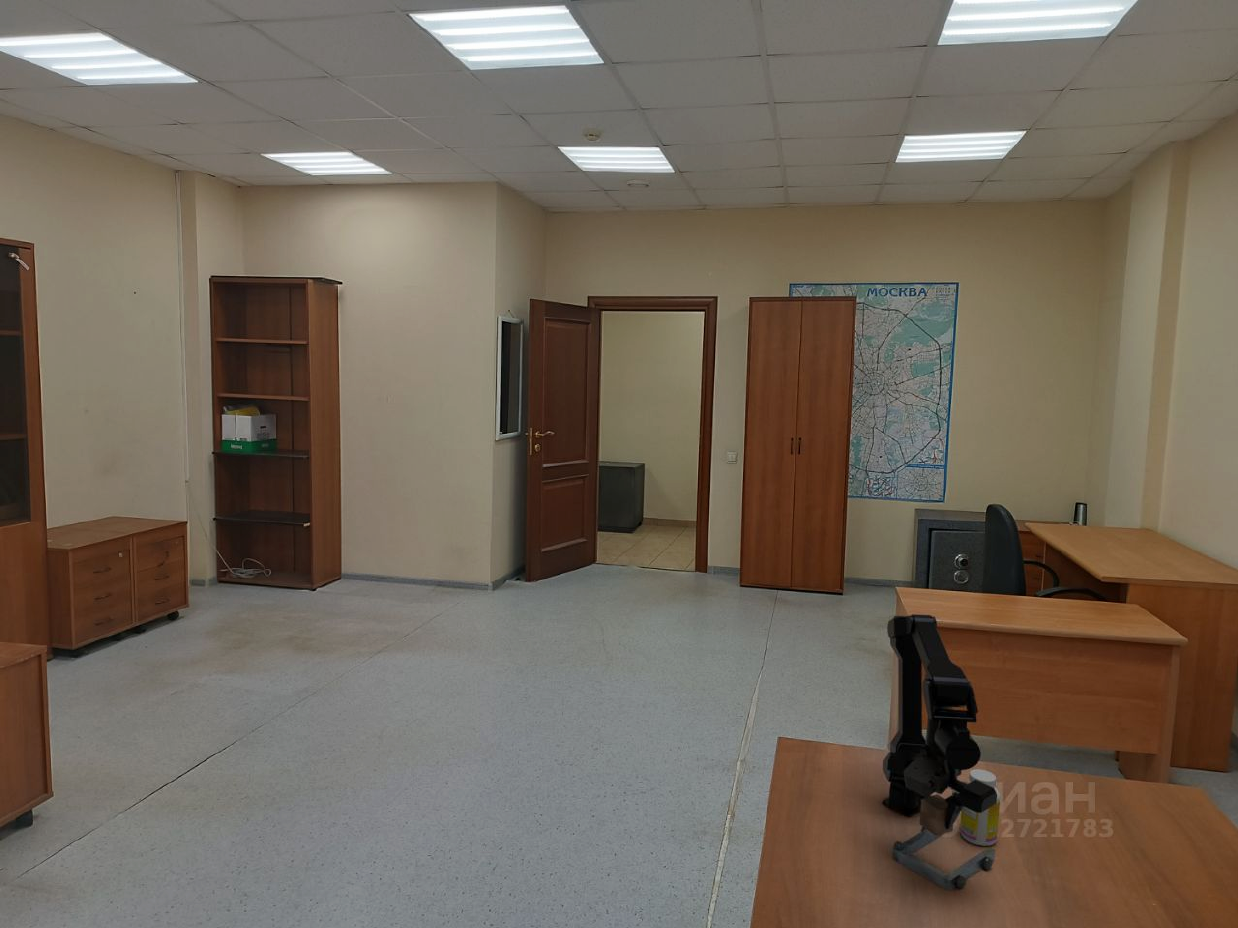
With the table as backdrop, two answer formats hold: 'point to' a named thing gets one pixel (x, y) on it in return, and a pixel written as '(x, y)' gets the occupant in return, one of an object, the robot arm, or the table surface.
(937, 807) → the brown block
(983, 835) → the supplement bottle
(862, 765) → the table surface
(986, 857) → the grey metal u-shaped frame
